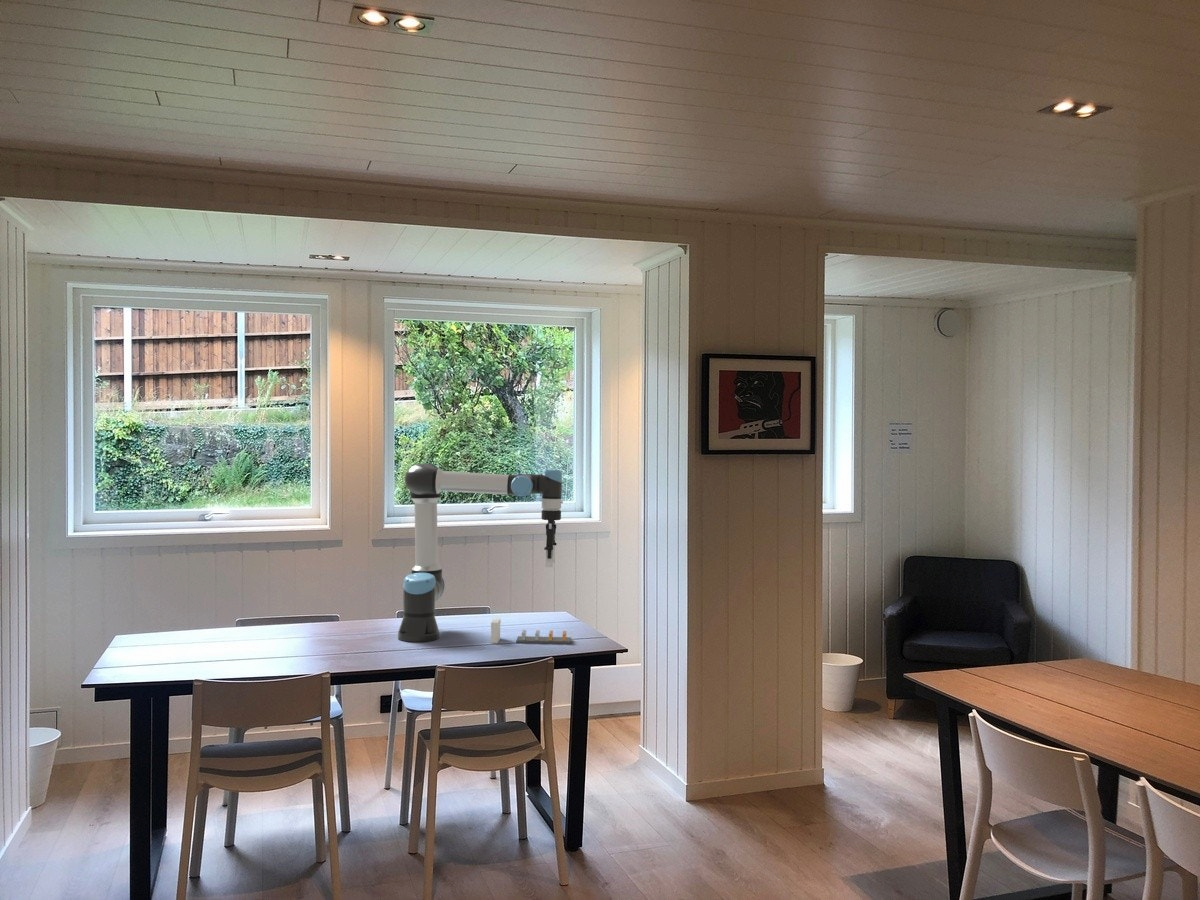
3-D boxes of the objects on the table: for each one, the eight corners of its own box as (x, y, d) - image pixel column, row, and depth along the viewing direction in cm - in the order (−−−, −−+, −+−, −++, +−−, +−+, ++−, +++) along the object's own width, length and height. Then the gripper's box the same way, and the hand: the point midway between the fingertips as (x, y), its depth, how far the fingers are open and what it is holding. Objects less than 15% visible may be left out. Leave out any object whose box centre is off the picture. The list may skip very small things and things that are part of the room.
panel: (490, 643, 344) (491, 622, 344) (493, 638, 352) (493, 618, 352) (497, 643, 344) (498, 622, 344) (500, 638, 352) (500, 618, 352)
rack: (516, 643, 345) (516, 633, 345) (518, 638, 352) (518, 629, 352) (570, 644, 344) (571, 634, 344) (571, 640, 351) (571, 630, 351)
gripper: (559, 512, 350) (558, 569, 350) (562, 507, 375) (561, 560, 375) (539, 511, 350) (538, 568, 350) (543, 506, 375) (542, 560, 375)
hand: (550, 564), depth 362 cm, fingers open, 13 cm apart
